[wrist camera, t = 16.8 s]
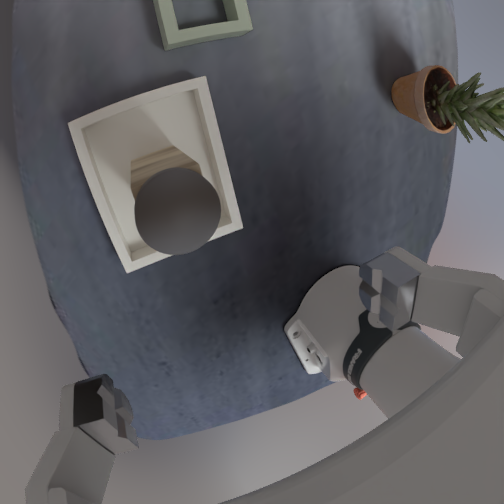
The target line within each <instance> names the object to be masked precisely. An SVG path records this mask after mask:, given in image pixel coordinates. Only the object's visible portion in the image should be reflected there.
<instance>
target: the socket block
mask: <svg viewBox="0 0 504 504" xmlns="http://www.w3.org/2000/svg"><path fill="white" fill-rule="evenodd" d="M222 1H223V5H224V9H225V13H226V17H227V21H228V22H221V23H215V24H209V25H203V26H197V27H192V28H187V29H182V30H179V29H178V25H177V21H176V17H175V13H174V9H173V4H172V0H153V4H154V8H155V12H156V17H157V21H158V25H159V29H160V34H161V38H162V42H163V46H164V50H165V51H167V50H171V49H175V48H179V47H183V46H188V45H192V44H197V43H202V42H207V41H212V40H218V39H224V38H230V37H237V36H243V35H244V34H246V33H248V32H250V31H251V30H253V26H252V22H251V18H250V14H249V10H248V6H247V3H246V0H222Z"/></svg>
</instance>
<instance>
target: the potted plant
mask: <svg viewBox="0 0 504 504" xmlns="http://www.w3.org/2000/svg"><path fill="white" fill-rule="evenodd" d="M480 75H481V73H477V74H476V75H474V76H473V77H471V79H470V80H468V81H467V82H465V83H463V84H461V85H459V84H457V85H456V83H455V80H454V78H453V77H452V75H451V73H450V72H449V71H448V70H447V69H446V68H444V67H443V66H439V65H434V66H427V67H425V68H423V69H422V70H421V71H419V72H416V73H413V74H410V75H407V76H403V77H400V78H399V79H397V80H396V81H395V82H394V84H393V86H392V100H393V102H394V104H395V106H396V109H397V110H398V111H399V112H400V113H402V114H404V115H406V116H408V117H410V118H412V119H414V120H416V121H418V122H420V123H422V124H423V125H424V126H425V127H426V128H427V129H429V130H430V131H434V132H437V133H448V132H450V131H451V130H452V129H453V128H454V126H455V124H456V125H457V126H458V128H459V129H460V131H461V133H462V134H463V135H464V137H465V138H466V139H467V141H468V142H469V143H470V141H469V138H470V139H471V140H473V138H472V136H471V134H470V133H469V132H468V130H467V128H466V126H465V124H464V120H465V121H467V123H468V124H469V125H470V126H471V127H472V129H473V130H474V131H475V132H476V133H477V134H478V135H479V136H480V137H481V138H482V139H483V140H484V141H486V142H487V140H486V138H485V137H484V135H483V133H482V132H481V130H480V128H481V129H482V130H485V131H487V130H488V131H490V132H491V133H493V134H494V135H496V136H497V137H499V138H500V139H502V140H503V141H504V136H503V135H502V134H501V133H500V132H499V131H498V130H497V129H496V128H499V129H501V130H504V100H503V99H504V93H503V92H504V88H499V89H496V90H494V91H491V92H488V93H485V94H482V95H479V96H477V95H478V94H479V93H474V91H475V90H476V89H477V88H479V87H481V86H483V85H484V84H479V85H477V83H478V82H479V80H480V78H478V77H479V76H480ZM468 87H469V88H468ZM467 88H468V89H467ZM466 89H467V90H466ZM465 90H466V91H465ZM495 127H496V128H495ZM486 129H487V130H486ZM466 133H467V134H466ZM467 135H468V136H469V138H468V136H467Z"/></svg>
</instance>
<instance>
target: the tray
mask: <svg viewBox="0 0 504 504" xmlns="http://www.w3.org/2000/svg"><path fill="white" fill-rule="evenodd" d="M68 126H69V129H70V133H71V136H72V139H73V142H74V145H75V148H76V151H77V154H78V157H79V160H80V163H81V166H82V168H83V171H84V174H85V177H86V179H87V182H88V185H89V187H90V190H91V193H92V195H93V198H94V200H95V203H96V205H97V208H98V210H99V213H100V215H101V217H102V220H103V222H104V224H105V227H106V229H107V231H108V234H109V236H110V238H111V240H112V243H113V245H114V247H115V249H116V251H117V254H118V256H119V258H120V260H121V262H122V264H123V266H124V268H125V270H126V272H127V273H129V272H132V271H134V270H137V269H139V268H142V267H144V266H147V265H149V264H152V263H154V262H157V261H159V260H162V259H164V258H167V257H169V256H172V255H169V254H164V253H161V252H158V251H155V250H154V249H153V248H151V247H150V246H148V245H147V244H146V243H145V242H144V241H143V239H142V238H141V236H140V235H139V232H138V230H137V227H136V223H135V214H134V207H135V200H134V197H133V194H132V191H131V160H134V159H136V158H139V157H141V156H144V155H147V154H150V153H152V152H155V151H158V150H161V149H164V148H166V147H169V146H172V145H174V146H175V147H176V148H178V149H179V150H181V151H182V152H183V153H185V154H186V155H187V156H189V157H190V158H192V159H193V160H194V161H196V162H197V163H199V165H200V168H201V172H202V176H203V177H204V178H205V179H206V180H208V181H209V182H210V183H211V184H212V186H213V187H214V188H215V190H216V192H217V194H218V196H219V199H220V203H221V217H220V221H219V224H218V227H217V229H216V231H215V233H214V234H213V236H212V237H211V238H210V239H209V240H208V241H211V240H213V239H216V238H218V237H221V236H224V235H226V234H229V233H232V232H234V231H237V230H240V229H242V228H243V224H242V220H241V216H240V212H239V208H238V204H237V200H236V196H235V192H234V188H233V184H232V180H231V176H230V172H229V168H228V164H227V160H226V156H225V152H224V148H223V144H222V140H221V136H220V132H219V128H218V124H217V120H216V116H215V112H214V108H213V103H212V99H211V95H210V91H209V87H208V83H207V79H206V76H202V77H198V78H194V79H190V80H186V81H182V82H179V83H175V84H172V85H168V86H165V87H161V88H158V89H155V90H152V91H148V92H145V93H142V94H139V95H136V96H133V97H131V98H128V99H125V100H122V101H119V102H117V103H114V104H111V105H109V106H106V107H104V108H101V109H99V110H96V111H94V112H92V113H89V114H87V115H84V116H82V117H80V118H78V119H75V120H73V121H71V122H69V123H68ZM208 241H207V242H208Z"/></svg>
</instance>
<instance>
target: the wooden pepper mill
mask: <svg viewBox="0 0 504 504" xmlns="http://www.w3.org/2000/svg"><path fill="white" fill-rule="evenodd" d="M131 191H132V194H133V197H134V200H135V207H134V214H135V223H136V227H137V230H138V232H139V235H140V236H141V238H142V239H143V241H144V242H145V243H146V244H147V245H148V246H150V247H151V248H153V249H154V250H155V251H158V252H161V253H164V254H169V255H182V254H187V253H190V252H192V251H195V250H197V249H198V248H200V247H202V246H203V245H204V244H205V243H206V242H207V241H208V240H209V239H210V238H211V237H212V236H213V234H214V233H215V231H216V229H217V227H218V224H219V221H220V217H221V203H220V199H219V196H218V194H217V192H216V190H215V188H214V187H213V186H212V184H211V183H210V182H209V181H208V180H206V179H205V178H204V177H203V176H202V172H201V168H200V165H199V163H197V162H196V161H194V160H193V159H192V158H190V157H189V156H187V155H186V154H185V153H183V152H182V151H181V150H179V149H178V148H176V147H175V146H174V145H172V146H169V147H166V148H164V149H161V150H158V151H155V152H152V153H150V154H147V155H144V156H141V157H139V158H136V159H134V160H131Z"/></svg>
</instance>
